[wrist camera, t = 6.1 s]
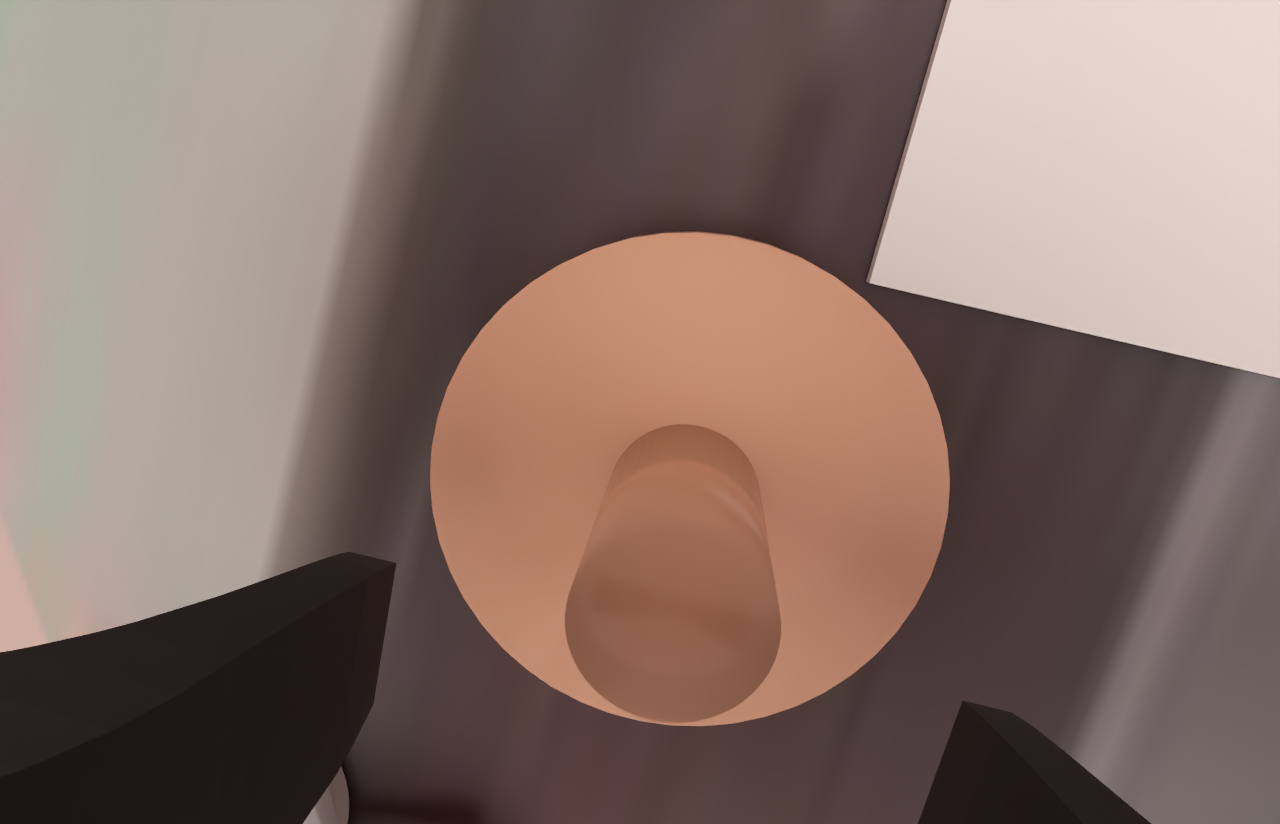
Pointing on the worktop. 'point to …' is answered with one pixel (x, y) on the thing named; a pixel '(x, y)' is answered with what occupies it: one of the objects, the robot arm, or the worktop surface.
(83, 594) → the worktop surface
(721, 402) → the lid
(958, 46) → the mat
